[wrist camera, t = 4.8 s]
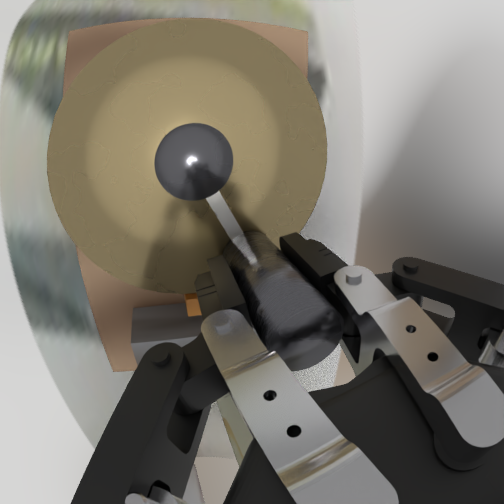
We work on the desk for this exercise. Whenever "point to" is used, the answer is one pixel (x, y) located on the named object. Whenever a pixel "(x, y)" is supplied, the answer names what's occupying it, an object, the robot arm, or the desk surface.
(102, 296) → the tan piece
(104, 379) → the desk surface
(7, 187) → the desk surface
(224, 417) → the skincare box
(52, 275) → the desk surface
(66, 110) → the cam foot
